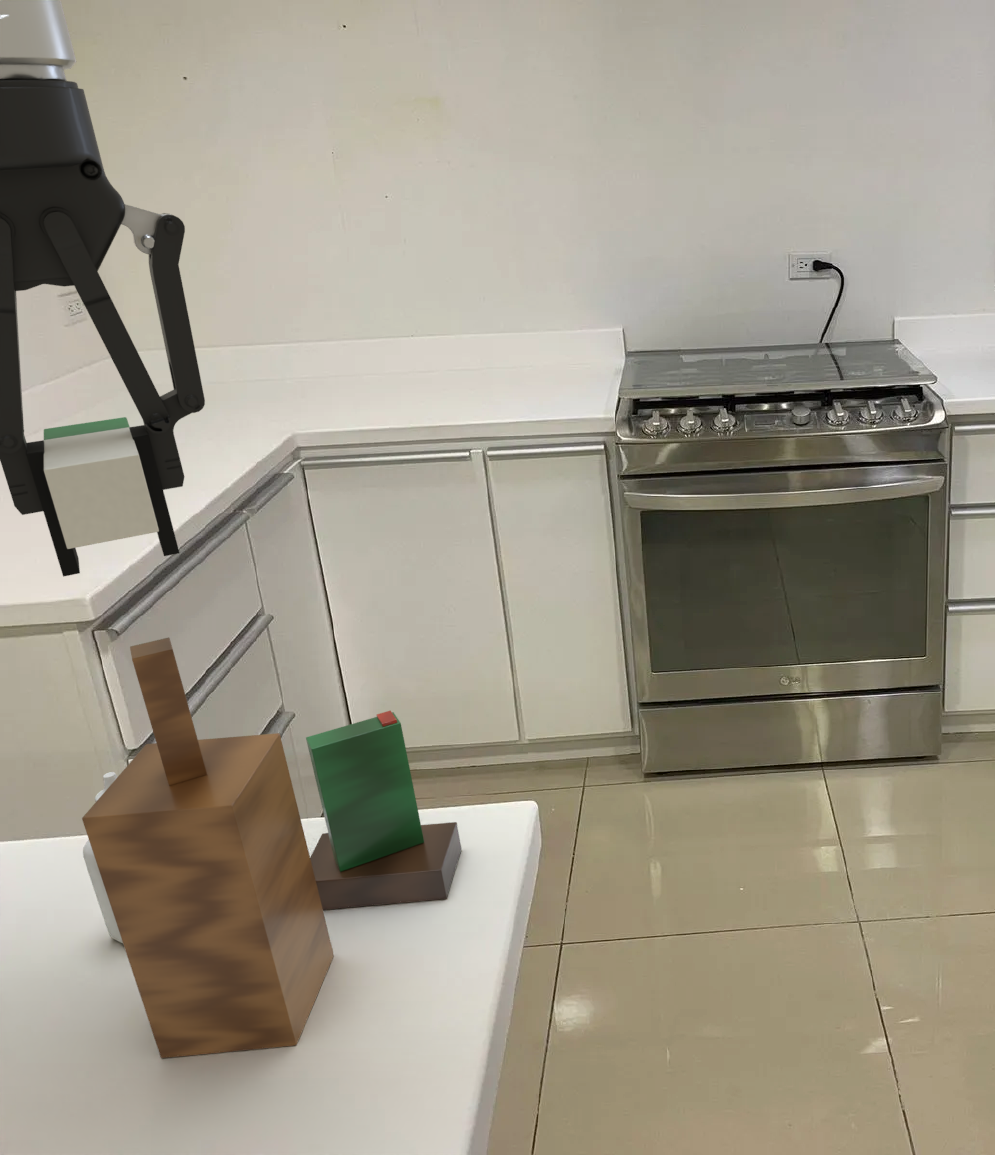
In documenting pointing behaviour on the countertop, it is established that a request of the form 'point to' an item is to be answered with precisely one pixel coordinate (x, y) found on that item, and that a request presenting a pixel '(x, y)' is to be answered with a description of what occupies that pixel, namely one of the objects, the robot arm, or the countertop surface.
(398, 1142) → the countertop surface
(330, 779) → the green carton
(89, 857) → the eye dropper bottle
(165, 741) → the stand
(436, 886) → the dark brown block
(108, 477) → the white green block
